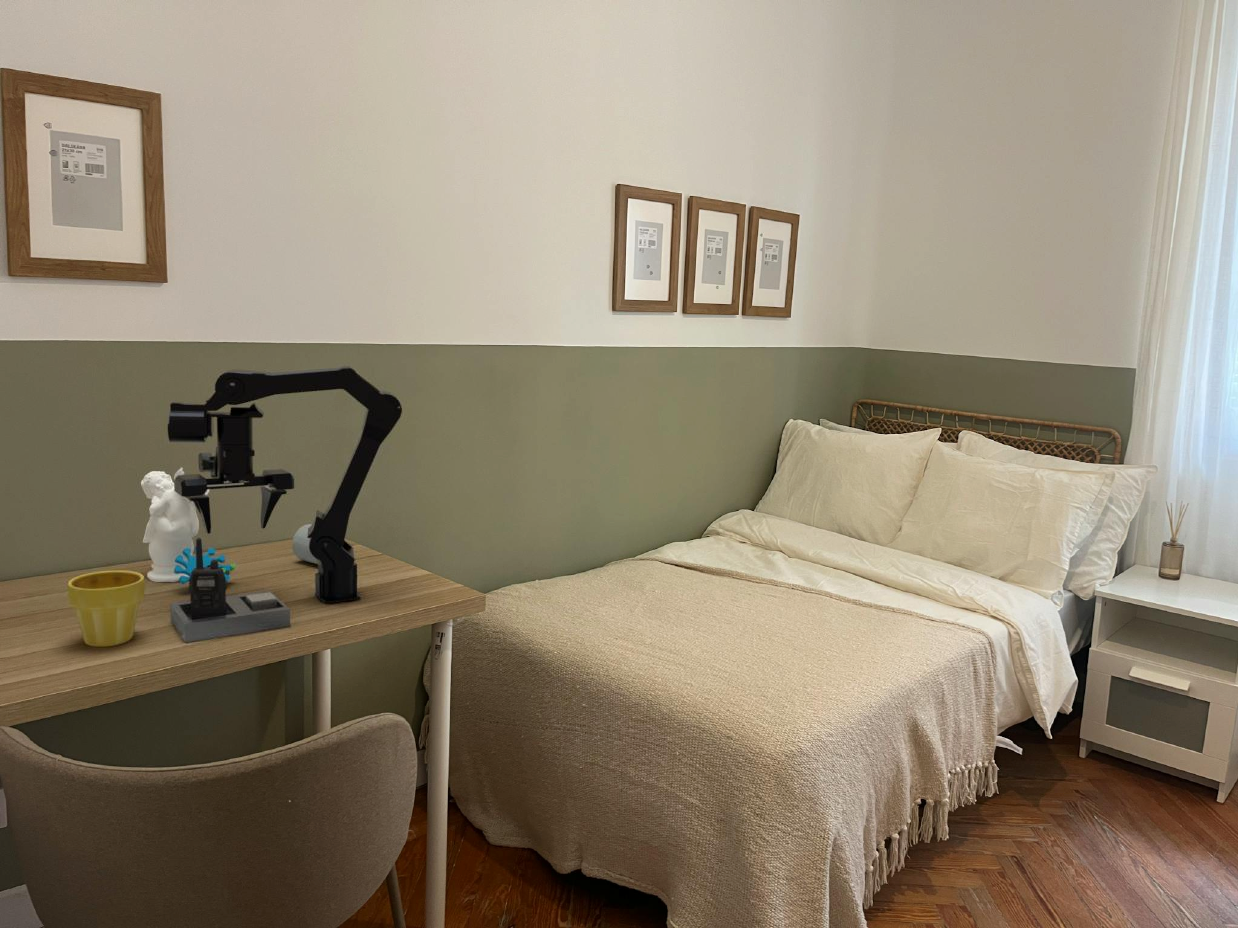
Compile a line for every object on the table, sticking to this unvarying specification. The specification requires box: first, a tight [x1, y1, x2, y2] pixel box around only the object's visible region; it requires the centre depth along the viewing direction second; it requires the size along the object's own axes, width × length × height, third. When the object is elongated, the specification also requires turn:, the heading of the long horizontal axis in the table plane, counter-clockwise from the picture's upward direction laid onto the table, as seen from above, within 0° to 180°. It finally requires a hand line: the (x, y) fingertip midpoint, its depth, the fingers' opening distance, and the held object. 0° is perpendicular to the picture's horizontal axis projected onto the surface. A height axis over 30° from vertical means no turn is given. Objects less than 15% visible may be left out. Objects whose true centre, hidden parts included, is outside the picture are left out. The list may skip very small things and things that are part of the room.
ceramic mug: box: [291, 523, 321, 565], centre depth 194 cm, size 11×8×8 cm
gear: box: [174, 546, 237, 585], centre depth 174 cm, size 11×6×10 cm
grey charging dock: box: [169, 590, 291, 643], centre depth 154 cm, size 16×12×3 cm
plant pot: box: [67, 570, 146, 648], centre depth 144 cm, size 10×10×10 cm
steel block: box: [246, 592, 278, 611], centre depth 157 cm, size 4×4×4 cm
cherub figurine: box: [140, 467, 211, 583], centre depth 179 cm, size 12×12×22 cm
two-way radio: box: [188, 537, 227, 620], centre depth 152 cm, size 6×4×15 cm
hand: (236, 530), depth 164 cm, fingers open, 9 cm apart
